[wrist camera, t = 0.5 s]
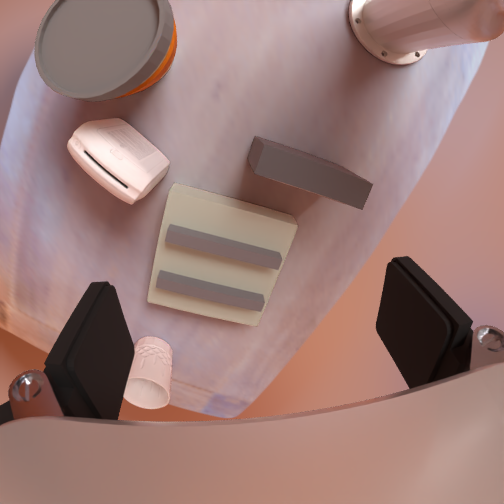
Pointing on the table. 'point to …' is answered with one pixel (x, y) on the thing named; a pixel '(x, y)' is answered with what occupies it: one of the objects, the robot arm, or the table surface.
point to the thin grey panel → (307, 173)
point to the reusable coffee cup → (105, 47)
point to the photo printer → (118, 158)
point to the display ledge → (218, 255)
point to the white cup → (150, 374)
